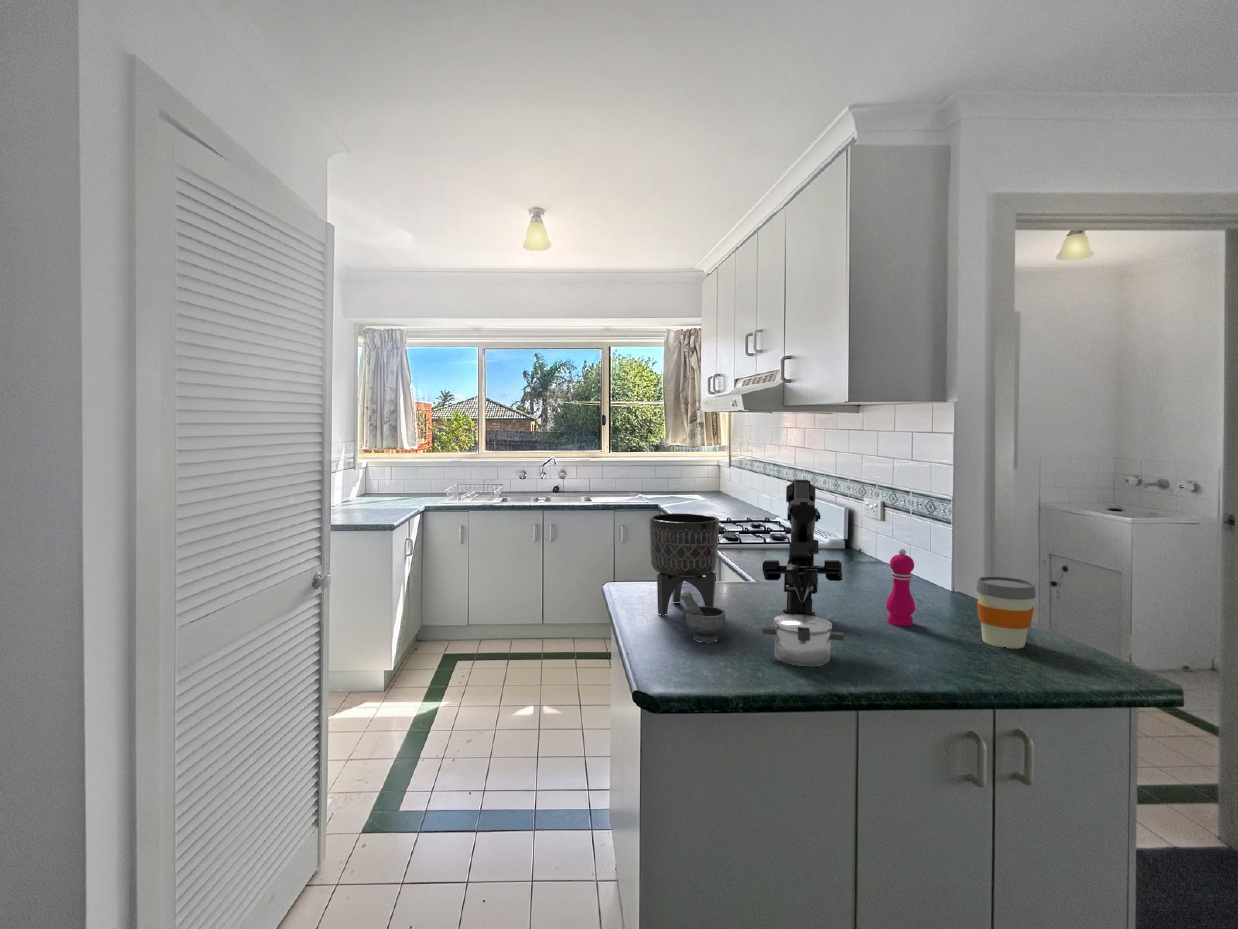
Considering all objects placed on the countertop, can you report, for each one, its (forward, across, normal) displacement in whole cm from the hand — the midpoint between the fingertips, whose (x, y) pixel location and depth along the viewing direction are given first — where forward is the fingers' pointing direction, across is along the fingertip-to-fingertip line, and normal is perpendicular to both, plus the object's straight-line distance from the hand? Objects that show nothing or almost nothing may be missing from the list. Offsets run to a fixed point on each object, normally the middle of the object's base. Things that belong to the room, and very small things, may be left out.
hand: (801, 601), depth 159 cm
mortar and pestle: (+10, -24, +2) cm, 26 cm away
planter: (-6, -34, +19) cm, 40 cm away
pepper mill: (-9, +23, +29) cm, 38 cm away
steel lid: (+10, +1, -7) cm, 12 cm away
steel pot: (+14, 0, 0) cm, 14 cm away
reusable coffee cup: (-2, +46, +24) cm, 52 cm away
